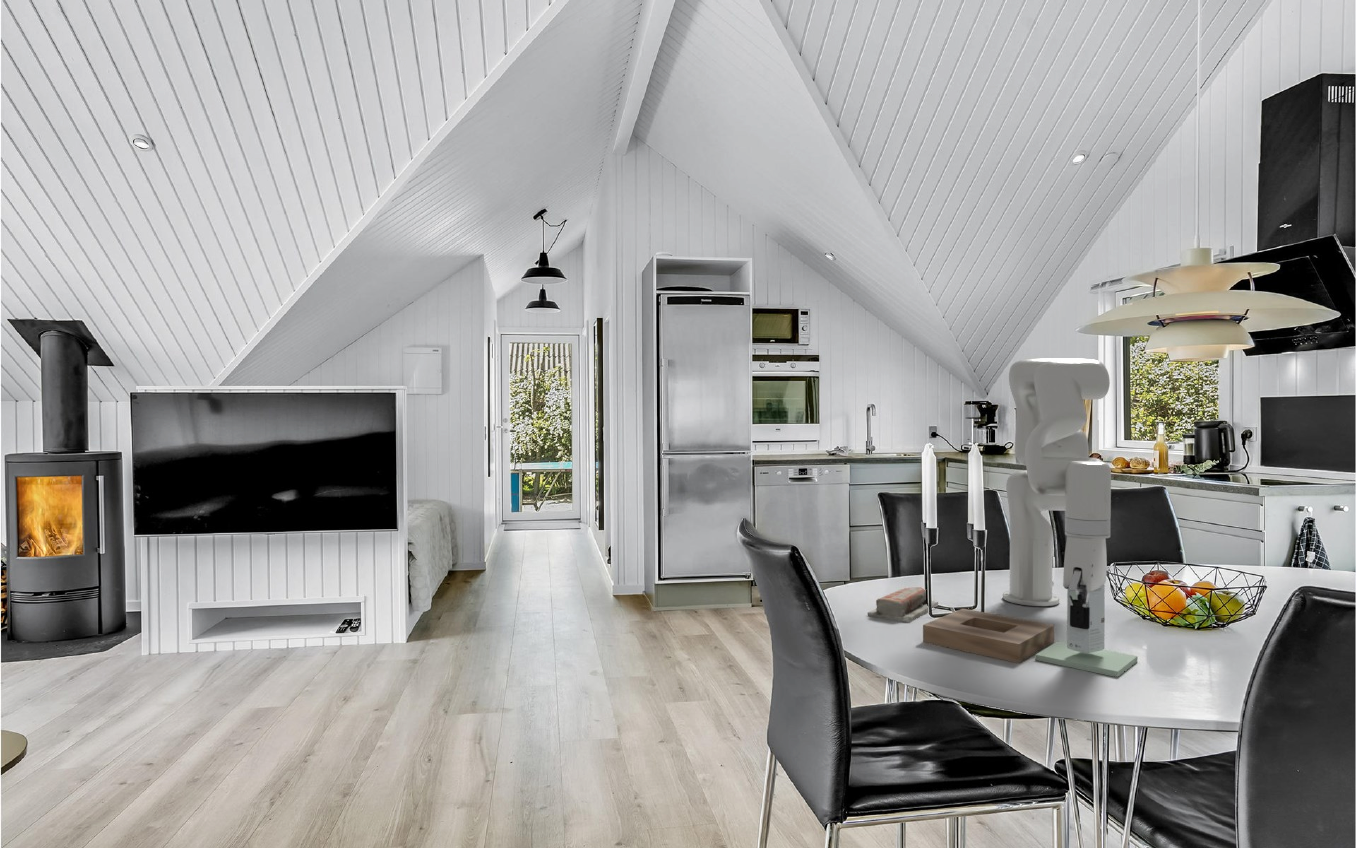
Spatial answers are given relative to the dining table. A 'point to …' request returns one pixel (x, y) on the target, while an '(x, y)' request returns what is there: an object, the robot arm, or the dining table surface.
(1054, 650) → the mat
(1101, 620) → the skincare box
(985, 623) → the pocket block
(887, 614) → the pink and beige block
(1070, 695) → the dining table surface
